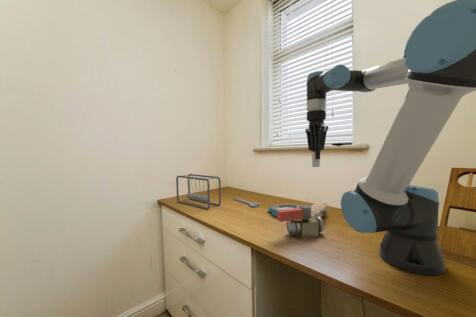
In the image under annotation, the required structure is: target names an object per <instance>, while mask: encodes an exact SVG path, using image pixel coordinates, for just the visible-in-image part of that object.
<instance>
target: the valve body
mask: <svg viewBox="0 0 476 317" xmlns="http://www.w3.org/2000/svg"><path fill="white" fill-rule="evenodd" d="M285 226H286V230H287V233H288V234H289V235H290V236H296V235H297V236H298V237H299V238H300V239H302V240H305V239H312V238H319V233H323V232H324V231H325V228H326V227H325V226H326V225H325V221H324V219H323V218H322V217H320V216H317V217H314V218H310V219H298V220H290V221H286V225H285Z"/></svg>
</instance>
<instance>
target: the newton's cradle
mask: <svg viewBox="0 0 476 317" xmlns="http://www.w3.org/2000/svg"><path fill="white" fill-rule="evenodd" d="M175 178H176V179H175V181H176V185H175V186H176V201H177V203H179V204H182V203H183V204H184V205H186V204H188V205H187V206H190V205H192V207H194V206H196V207H195V208H198V207H199V208H198V209H202V208H204V209H203V210H207V209H208V210H209V209H211V208H213V207H216V206H217V207H218V206H219V207H220V205H221V204H222V190H221V189H222V184H221V178H220V177H219V176H214V175H206V174H205V175H202V174H194V173H189V174H184V175H177V176H176V177H175ZM179 178H180V179H181V178H183V179H187V181H186V183H187V191H188V192H187V194H186V198H187V199H185V200H179V198H180V197H179V196H180V195H179ZM213 179H218V203H216V202H211V200H210V199H211V198H210V197H211V196H210V195H211V192H210V189H211V188H210V180H213ZM191 180H195V181H198V182H199V183H198V187H199V190H202V188H203V189H207V190H206V191H207V192H204V194H205V195H203V193H201V195H200V193H199V192H200V191H198V190H197V187H195V190H193V189H194V188H193V187H191V185H192V184H193V182H192V181H191ZM201 181H203V183H205V182H206V183H207V188H206V187H205V185H203V186H202V188H201ZM194 184H195V186H197V182H195V183H194ZM191 188H192V190H193V192H192V191H191ZM196 191H197V194H196ZM189 200H191V201H193V202H195V201H196V202H199V203H203V204H204V203H205V204H207V206H202V205H198V204H194V203H191V202H190V203H189V202H185V201H189ZM183 204H182V205H183ZM212 204H213V206H212Z"/></svg>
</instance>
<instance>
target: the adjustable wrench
mask: <svg viewBox="0 0 476 317" xmlns="http://www.w3.org/2000/svg"><path fill="white" fill-rule="evenodd" d="M233 201H235V202H236V201H237V202H239V203H242V204H246V205H249V207H250V208H253V209H257V208H258V207H261V204H260V202H253V201H252V202H251V201H248V200H245V199H242V198H240V197H236V196H235V197H233Z"/></svg>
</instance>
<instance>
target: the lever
mask: <svg viewBox="0 0 476 317" xmlns="http://www.w3.org/2000/svg"><path fill="white" fill-rule="evenodd" d="M310 218H311V205H309V206H308V205H300V208H292V209H283V210H277V216H276V220H277V221H278V222H280V223H281V222H287V221H290V220H298V219H310Z"/></svg>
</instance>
